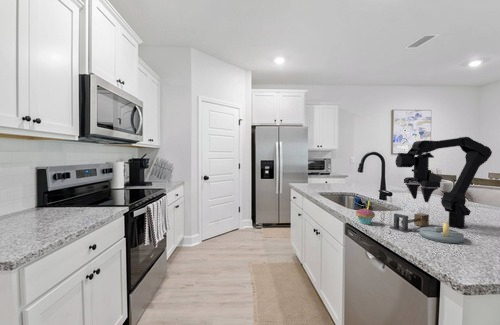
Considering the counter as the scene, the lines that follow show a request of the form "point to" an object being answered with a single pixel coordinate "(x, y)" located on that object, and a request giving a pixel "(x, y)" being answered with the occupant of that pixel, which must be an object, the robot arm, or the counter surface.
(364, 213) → the cupcake
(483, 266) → the counter surface
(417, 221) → the grey brown long block
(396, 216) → the eye bracket
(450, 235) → the handwheel
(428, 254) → the counter surface
